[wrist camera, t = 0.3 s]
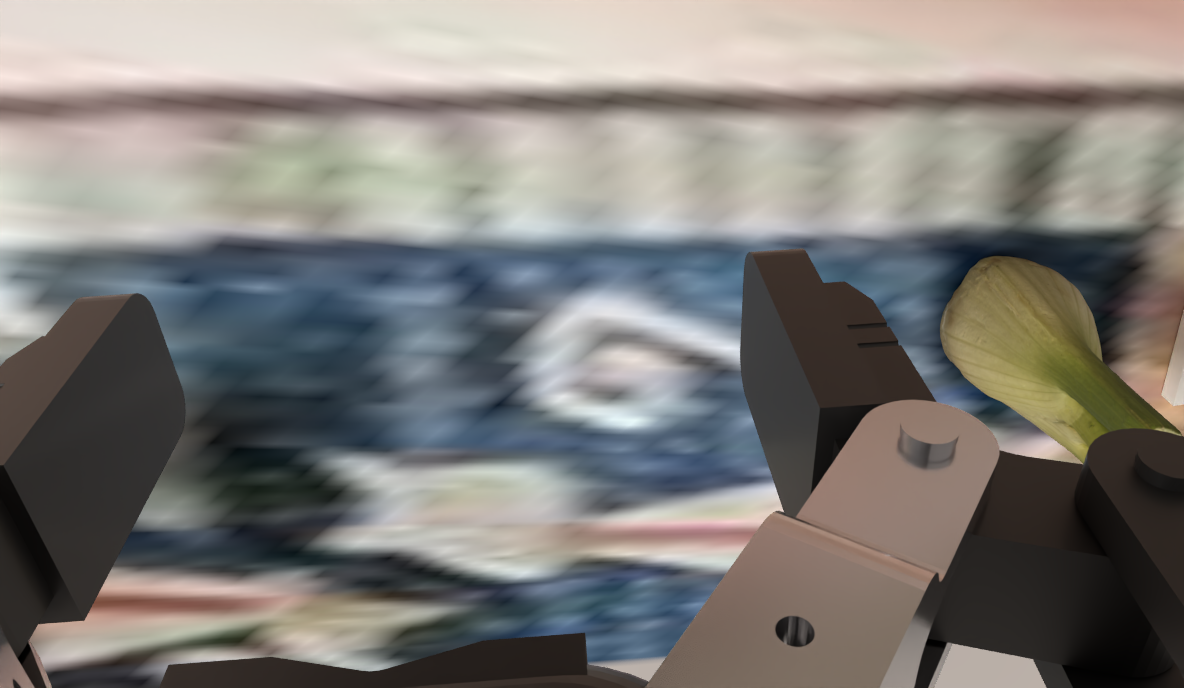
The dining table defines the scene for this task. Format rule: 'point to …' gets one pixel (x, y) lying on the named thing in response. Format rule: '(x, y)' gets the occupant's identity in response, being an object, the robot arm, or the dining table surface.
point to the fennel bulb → (1039, 353)
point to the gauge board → (1176, 371)
